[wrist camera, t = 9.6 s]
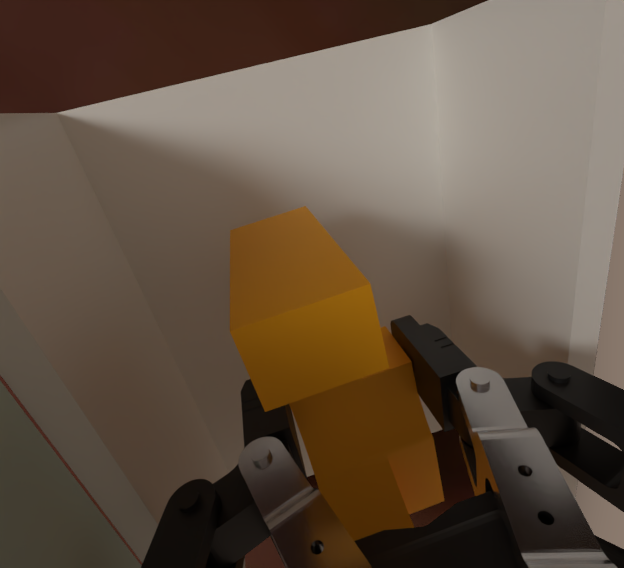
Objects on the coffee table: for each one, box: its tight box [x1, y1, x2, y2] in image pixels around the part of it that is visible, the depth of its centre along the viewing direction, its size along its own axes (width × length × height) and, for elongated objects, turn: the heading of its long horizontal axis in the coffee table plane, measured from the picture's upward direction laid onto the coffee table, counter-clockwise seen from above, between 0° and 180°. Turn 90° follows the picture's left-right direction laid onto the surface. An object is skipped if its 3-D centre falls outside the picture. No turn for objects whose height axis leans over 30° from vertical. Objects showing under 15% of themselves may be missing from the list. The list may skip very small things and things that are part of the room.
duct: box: [0, 0, 624, 568], centre depth 15 cm, size 20×15×8 cm
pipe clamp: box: [230, 206, 445, 541], centre depth 12 cm, size 12×4×6 cm, turn 16°
